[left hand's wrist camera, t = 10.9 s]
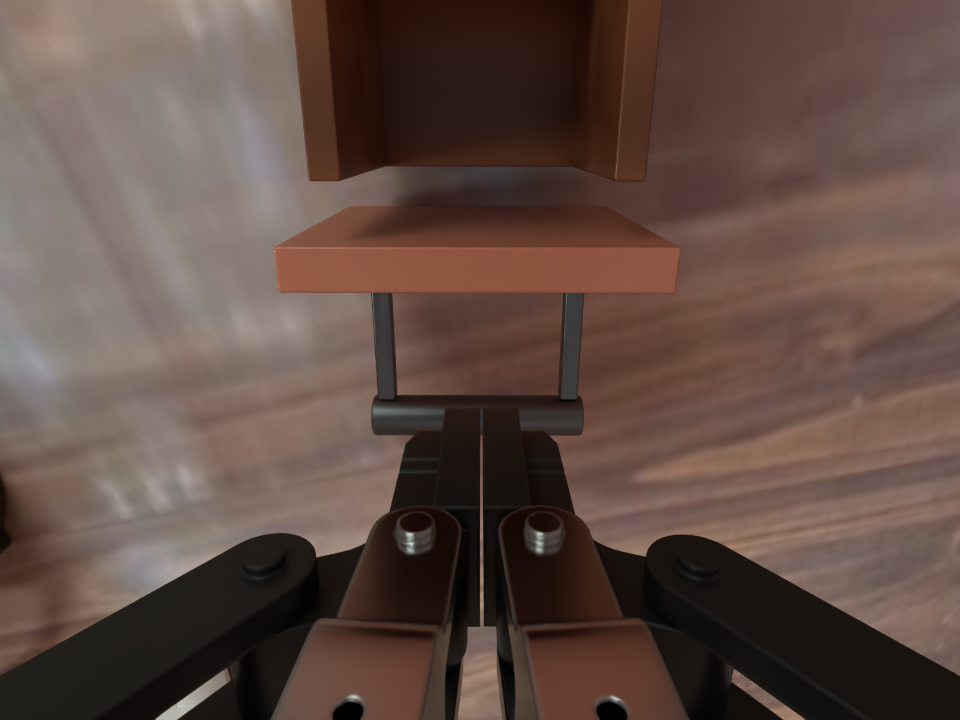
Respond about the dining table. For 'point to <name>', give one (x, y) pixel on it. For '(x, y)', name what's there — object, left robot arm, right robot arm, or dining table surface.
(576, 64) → the drawer
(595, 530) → the dining table surface
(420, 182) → the dining table surface
